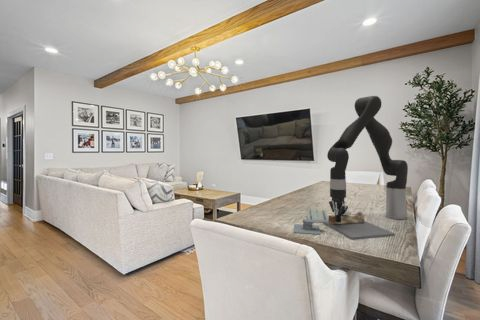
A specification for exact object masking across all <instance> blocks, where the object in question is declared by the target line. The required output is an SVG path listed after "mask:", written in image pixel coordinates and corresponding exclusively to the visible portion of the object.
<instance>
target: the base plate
mask: <svg viewBox="0 0 480 320" xmlns="http://www.w3.org/2000/svg"><path fill="white" fill-rule="evenodd" d="M357 214H359V215H362V214H363V211H357ZM323 224H324V225H325V226H327V227H329V228H331V229H332V230H334V231H336V232H338V233H340V235H341V234H342V235H343V236H344V237H346V238H348V239H350V240H351V241H352V240H363V239H373V238H383V237H394V236H396V233H395V232H392V231H390V230H388V229H385V228H382V227H380V226H377V225H375V224H374V223H371V222H368V221H366V220H364V223H359V222H358V223H344V224H333V225H332V224H330V223H329V221H325V223H323Z"/></svg>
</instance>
